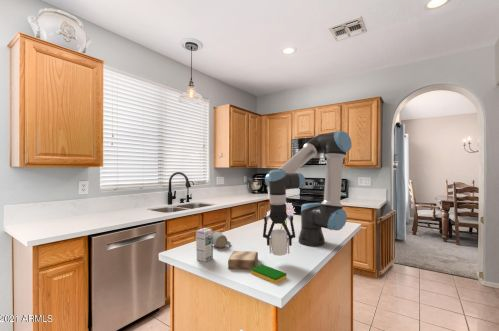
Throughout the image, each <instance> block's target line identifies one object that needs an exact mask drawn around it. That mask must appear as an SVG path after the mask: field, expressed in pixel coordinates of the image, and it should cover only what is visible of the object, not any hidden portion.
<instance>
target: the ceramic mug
mask: <svg viewBox="0 0 499 331" xmlns="http://www.w3.org/2000/svg"><path fill="white" fill-rule="evenodd" d="M212 239H213V246H215V247H217V248H219V249H222V248H225V247H226V246H231V242H230V241H229V240H228V238H227V236H226V235H224V234H223V233H222V232H220V231H214V232H212Z"/></svg>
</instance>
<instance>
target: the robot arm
mask: <svg viewBox="0 0 499 331" xmlns="http://www.w3.org/2000/svg"><path fill="white" fill-rule="evenodd" d="M352 146H353V143H352V139H351V136H350V135H349V134H348V132H346V131H343V130H339V131H338V130H336V131H332V132H326V133H324V132H323V133H320V134H317V135H316V136H314V137H312V138H310V140H308V141H307V142H306V143H304V145H303V147H302V148H301V149H299V151H298V152H297V153H295V154H294V155H293V156H292V157H290V158H289V159H288V160H287V161H286V162H284V163H283V164H282V165H281V166H279V167H278V169H276V170H275V169H274V170H270V171H269V172H268V173H267V174H266V175H265V176H264V182H265V184H266V186H267V187H268V188H269V203H270V204H269V215H264V216H263V222H264V223H263V232H262V237H263V239H264V238H265V240H266V245H267V246H268V247H269V254H272V245H271V232H272V230H274V229H273V228H274V227H275V225H278V224H279V225H282V227H283V228H284V230H285V231H286V233H287V254H288V255H289V254H290V247H291V246H292V245H293V241H292V239H294V238H296V233H295V231H296V230H295V227H294V215H289V214H288V213H287V204H286V203H287V190H294V189H297V190H298V189H301V188H303V187H304V186H305V184H306V179H305V176H304V175H303V174H302V173H300V172H297V171H299V169H301V168H302V167H303V166H304V165H305V164H306V163H307V162H309V161H310V160H311V159H312V158H316V157H317V156H318V155H321V154H323V155H324V156H325V158H326V163H325V164H326V167H325V176H324V177H325V178H324V179H325V180H324V190H323V193H324V194H323V200H322V201H321V202H311V203H309V202H308V203H303V204H302V205H301V207H300V208H301V210H300V220H301V221H300V224H301V225H300V226H301V228H300V232H299V235H298V243H299V244H301V245H304V246H309V247H319V246H323V245H325V244H326V243H325V242H326V241H325V240H326V239H325V236H324V233H323V229H327V230H329V231H340V230H342V229H343V228H344V227H345V226H346V223H347V220H348V215H347V212H346V210H344V209H343V207H344V206H343V204H342V203H341V196H342V194H341V192H342V179H343V161H344V159H345V158H346V157H347V153H348V152H350V151H351V149H352ZM287 219H288V220H289V223H290V224H289V225H290V228H291V229H290V230H291V232H290V230H289V228H288V226H287V223H286V220H287ZM269 220H271V221H272V222H271V224H270V227H269V228H268V232H267V227H268V221H269ZM322 228H323V229H322ZM291 233H292V234H291Z"/></svg>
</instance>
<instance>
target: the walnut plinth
mask: <svg viewBox="0 0 499 331" xmlns="http://www.w3.org/2000/svg"><path fill="white" fill-rule="evenodd" d="M258 260H259V253H258V251H249V250H247V251H246V250H245V251H244V250H233V251H232V253H231V255H230V257H229V258H228V261H227V262H228V263H227V266H228V267H227V269H229V270H230V269H231V270H247V271H249V270H250V271H251V268H254V267H256V266H258Z"/></svg>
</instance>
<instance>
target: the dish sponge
mask: <svg viewBox="0 0 499 331" xmlns="http://www.w3.org/2000/svg"><path fill="white" fill-rule="evenodd" d="M250 274H251V275H254V276H256V277H259V278H261V279H263V280H266V281H267V282H270V283H272V284H274V285H276V284H279V283H280V282H282V281H284V280H286V279H287V272H284V271H282V270H279V269H277V268H276V269H275V268H273V267H270V266H267V265H265V264H262V263H261V264H259V265H256V267H254V268H251V270H250Z"/></svg>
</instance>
